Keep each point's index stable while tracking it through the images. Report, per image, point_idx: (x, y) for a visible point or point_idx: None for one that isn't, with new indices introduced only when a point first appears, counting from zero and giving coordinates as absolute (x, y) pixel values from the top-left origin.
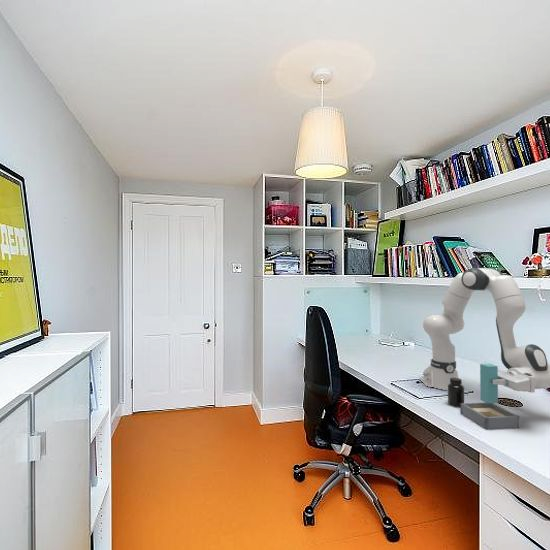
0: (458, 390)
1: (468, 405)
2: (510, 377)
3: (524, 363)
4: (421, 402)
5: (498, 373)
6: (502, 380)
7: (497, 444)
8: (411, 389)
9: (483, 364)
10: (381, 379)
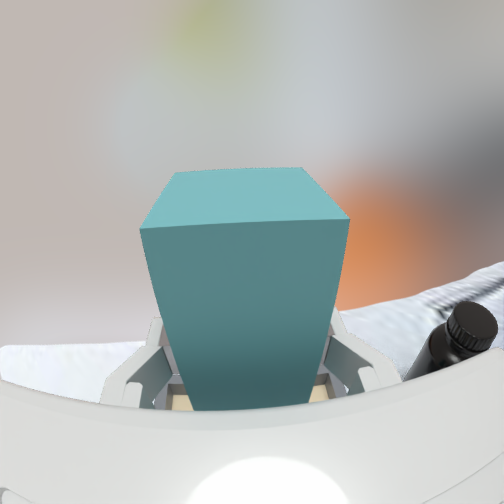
0: (426, 355)
1: (332, 395)
2: (90, 479)
3: None
4: (405, 308)
5: (347, 462)
6: (111, 376)
7: (86, 360)
8: (497, 308)
9: (277, 173)
10: None
